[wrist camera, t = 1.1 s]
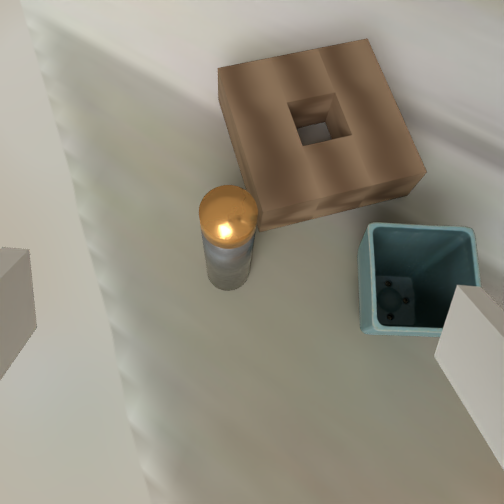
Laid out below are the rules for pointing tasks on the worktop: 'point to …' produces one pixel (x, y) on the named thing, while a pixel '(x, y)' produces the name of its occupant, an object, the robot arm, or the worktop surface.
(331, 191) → the block
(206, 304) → the worktop surface
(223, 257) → the metal pin
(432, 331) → the flower pot
